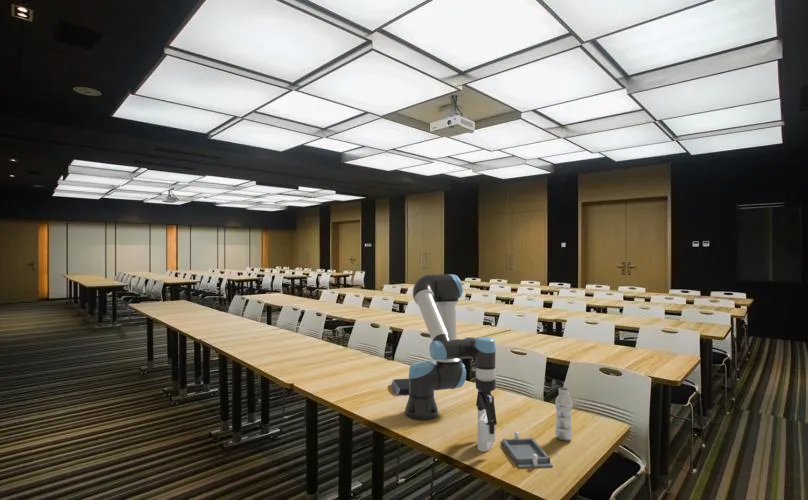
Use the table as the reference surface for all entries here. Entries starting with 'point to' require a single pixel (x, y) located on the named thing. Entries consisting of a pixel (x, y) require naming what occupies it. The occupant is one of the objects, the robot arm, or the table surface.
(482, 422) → the photo printer
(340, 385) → the table surface
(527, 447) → the tray
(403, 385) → the external hard drive
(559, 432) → the plastic bottle
